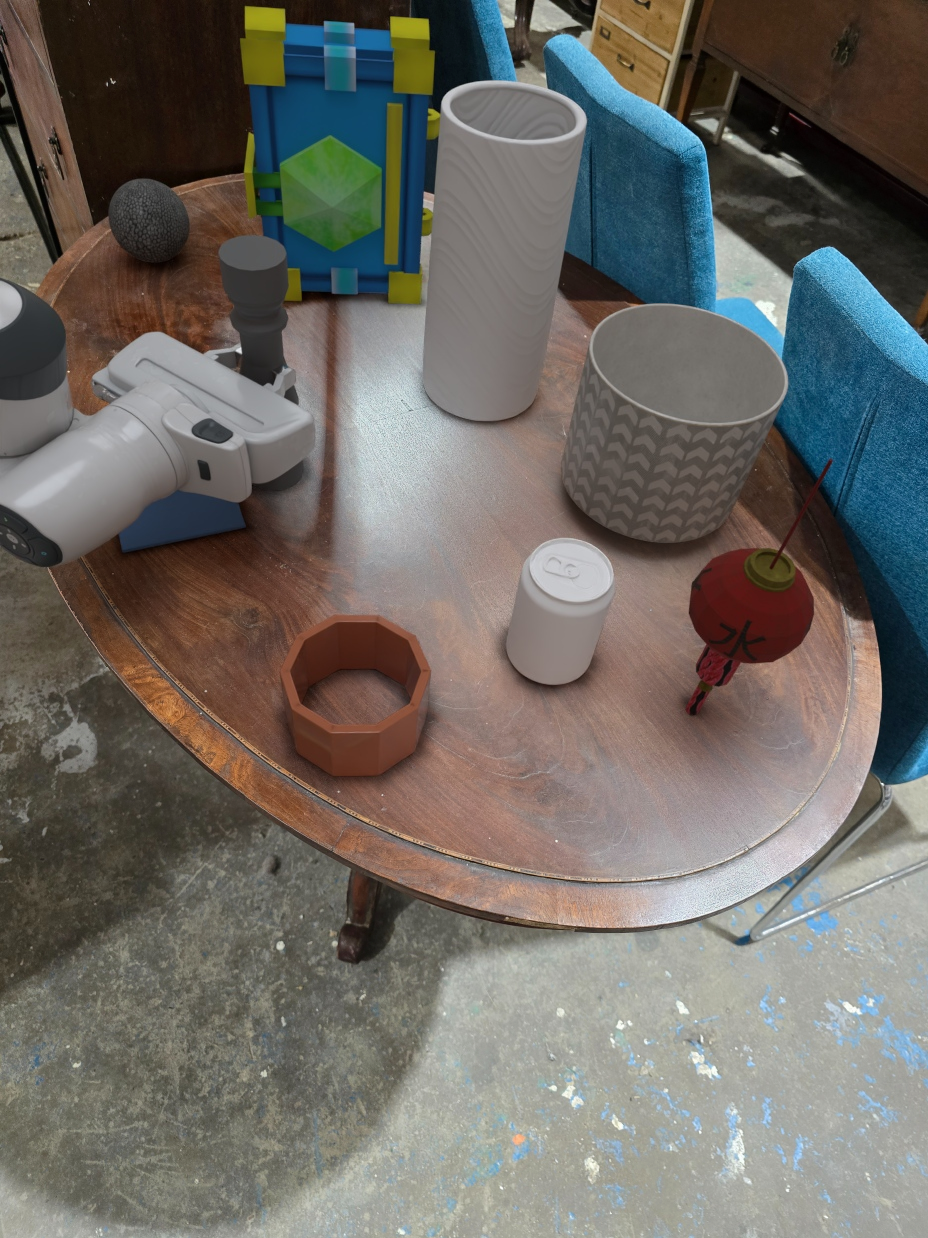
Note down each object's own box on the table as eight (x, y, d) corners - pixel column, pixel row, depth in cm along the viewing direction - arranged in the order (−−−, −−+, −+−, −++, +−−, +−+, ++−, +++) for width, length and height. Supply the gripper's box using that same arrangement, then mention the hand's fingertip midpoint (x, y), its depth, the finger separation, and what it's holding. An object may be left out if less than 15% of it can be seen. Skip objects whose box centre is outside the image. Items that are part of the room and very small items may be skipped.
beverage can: (577, 700, 78) (606, 619, 69) (493, 671, 79) (510, 586, 70) (599, 635, 83) (629, 551, 74) (520, 608, 84) (539, 522, 75)
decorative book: (262, 252, 120) (237, -2, 96) (427, 258, 123) (441, 12, 99) (257, 311, 111) (228, 46, 87) (434, 315, 114) (452, 61, 91)
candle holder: (244, 491, 91) (213, 271, 71) (245, 451, 94) (216, 232, 75) (304, 490, 92) (290, 272, 72) (303, 450, 95) (288, 233, 76)
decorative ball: (109, 274, 113) (90, 198, 105) (127, 235, 119) (111, 160, 112) (187, 280, 114) (174, 205, 106) (201, 241, 120) (189, 167, 112)
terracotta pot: (310, 796, 70) (305, 754, 64) (273, 678, 77) (266, 631, 71) (443, 755, 73) (449, 712, 68) (397, 646, 80) (399, 598, 75)
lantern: (658, 653, 82) (774, 395, 59) (753, 692, 80) (913, 443, 57) (627, 728, 77) (742, 477, 53) (729, 773, 75) (895, 533, 51)
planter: (612, 583, 87) (660, 444, 73) (525, 463, 97) (553, 321, 83) (760, 535, 94) (830, 399, 79) (664, 427, 104) (711, 289, 89)
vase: (556, 416, 103) (616, 138, 78) (443, 434, 99) (469, 149, 74) (511, 346, 111) (553, 75, 86) (405, 361, 107) (418, 81, 82)
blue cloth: (123, 553, 84) (122, 550, 84) (103, 460, 92) (102, 457, 91) (245, 527, 88) (245, 524, 87) (217, 440, 95) (216, 437, 95)
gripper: (87, 413, 81) (194, 346, 88) (254, 511, 75) (353, 431, 83) (70, 355, 76) (184, 290, 83) (247, 457, 70) (352, 377, 78)
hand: (269, 361), depth 83 cm, fingers closed on candle holder, 4 cm apart
